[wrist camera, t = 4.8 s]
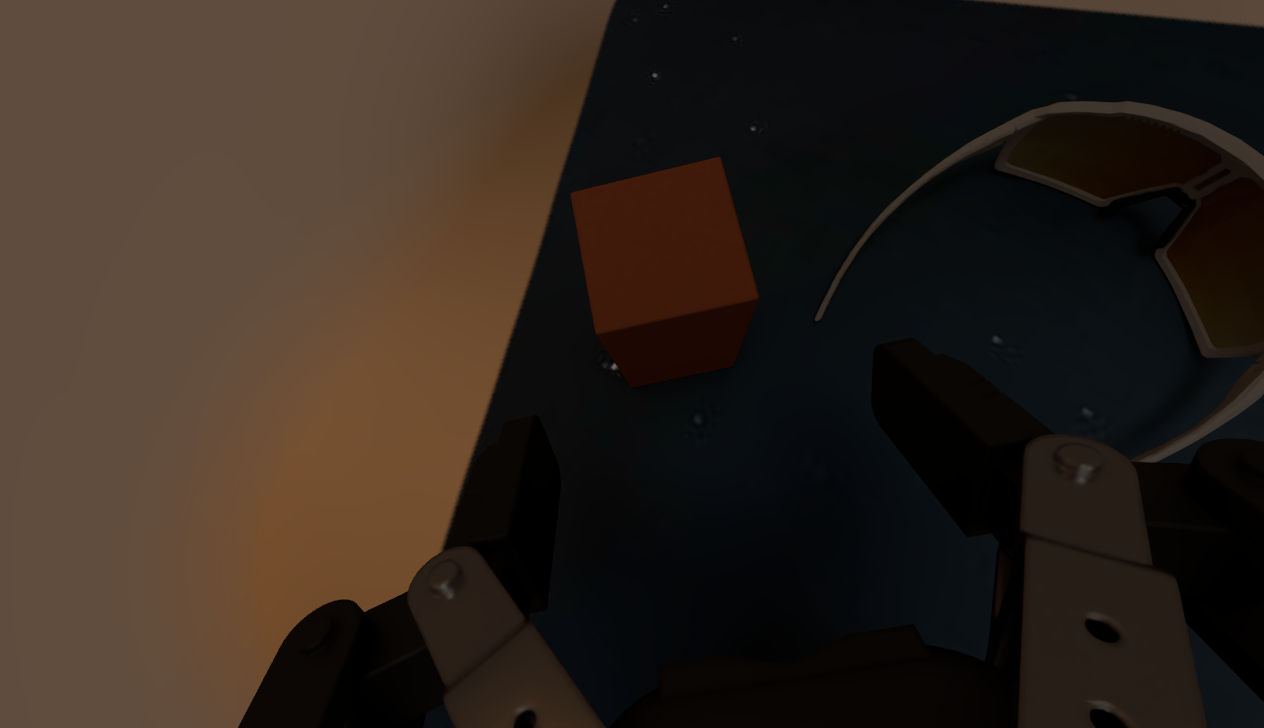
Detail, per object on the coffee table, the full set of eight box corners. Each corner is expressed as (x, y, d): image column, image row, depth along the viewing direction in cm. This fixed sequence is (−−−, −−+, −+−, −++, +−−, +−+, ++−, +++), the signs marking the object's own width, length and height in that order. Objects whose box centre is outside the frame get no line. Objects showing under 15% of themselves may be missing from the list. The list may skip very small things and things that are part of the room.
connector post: (630, 388, 23) (595, 334, 15) (612, 293, 24) (569, 191, 16) (733, 366, 23) (760, 298, 14) (709, 271, 24) (720, 155, 15)
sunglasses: (1292, 331, 20) (1461, 298, 15) (982, 534, 22) (1048, 561, 17) (1031, 111, 24) (1102, 30, 19) (781, 298, 25) (788, 266, 21)
